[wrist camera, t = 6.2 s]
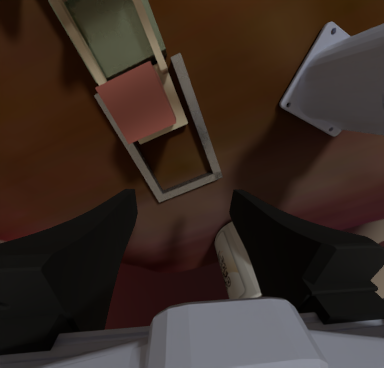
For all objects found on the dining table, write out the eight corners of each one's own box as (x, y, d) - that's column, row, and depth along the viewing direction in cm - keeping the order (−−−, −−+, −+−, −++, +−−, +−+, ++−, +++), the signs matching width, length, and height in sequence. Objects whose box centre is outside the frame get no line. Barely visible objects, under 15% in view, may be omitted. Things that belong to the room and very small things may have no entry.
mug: (201, 249, 28) (214, 327, 18) (237, 197, 24) (280, 262, 14) (247, 262, 31) (280, 335, 21) (287, 218, 27) (353, 284, 17)
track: (220, 174, 22) (224, 180, 20) (159, 198, 23) (158, 206, 21) (122, -111, 11) (112, -153, 9) (14, -44, 12) (-14, -70, 10)
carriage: (187, 122, 18) (193, 130, 12) (141, 143, 19) (124, 160, 12) (127, -32, 12) (81, -163, 6) (64, 4, 13) (-34, -86, 7)
